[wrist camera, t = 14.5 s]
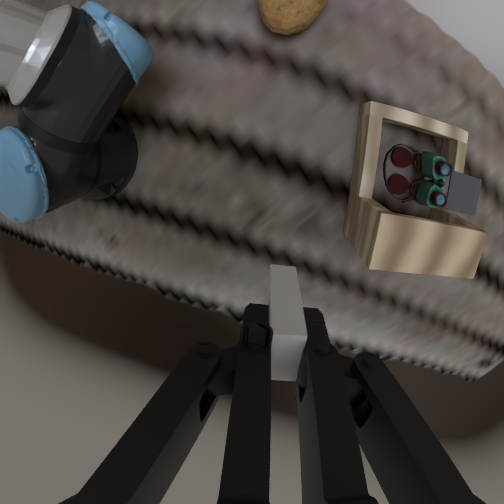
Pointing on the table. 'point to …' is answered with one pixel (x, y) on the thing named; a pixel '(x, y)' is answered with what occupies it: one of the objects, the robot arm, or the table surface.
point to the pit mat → (463, 193)
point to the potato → (289, 14)
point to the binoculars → (421, 189)
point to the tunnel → (404, 226)
